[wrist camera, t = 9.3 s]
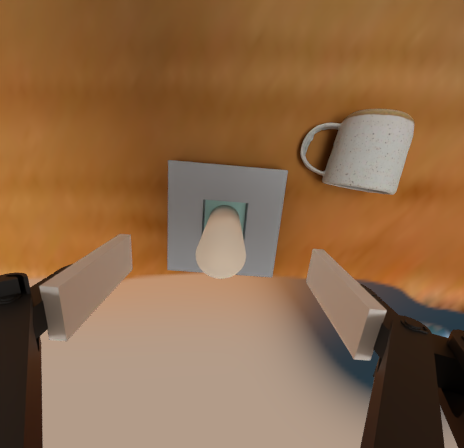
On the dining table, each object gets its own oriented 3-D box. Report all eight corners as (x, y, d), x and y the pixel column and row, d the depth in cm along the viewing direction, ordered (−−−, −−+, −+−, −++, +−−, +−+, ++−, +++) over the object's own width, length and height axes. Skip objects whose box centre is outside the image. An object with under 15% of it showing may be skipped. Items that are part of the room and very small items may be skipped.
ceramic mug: (387, 128, 27) (444, 113, 20) (366, 191, 29) (411, 199, 22) (306, 113, 27) (334, 92, 20) (291, 178, 29) (310, 182, 22)
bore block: (175, 160, 28) (168, 159, 25) (281, 169, 29) (288, 170, 25) (174, 258, 32) (167, 270, 28) (267, 265, 32) (272, 277, 29)
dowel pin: (210, 203, 28) (196, 229, 16) (240, 206, 28) (248, 233, 17) (208, 232, 29) (194, 276, 17) (238, 234, 29) (243, 280, 18)
